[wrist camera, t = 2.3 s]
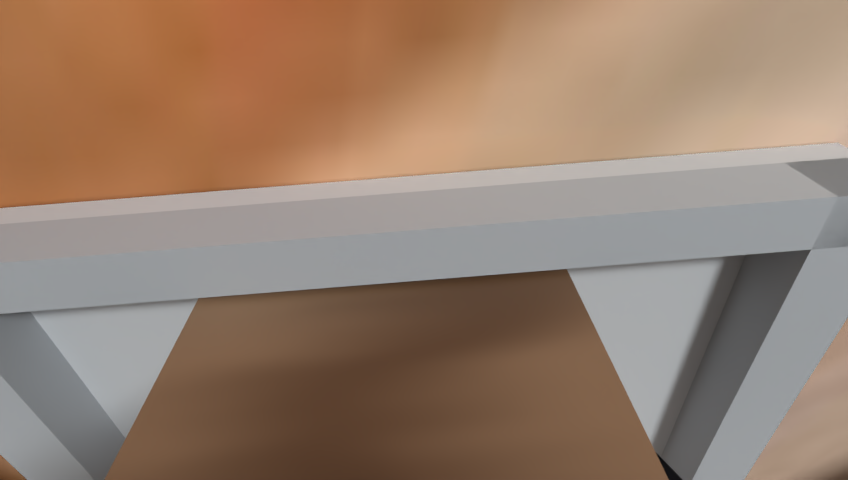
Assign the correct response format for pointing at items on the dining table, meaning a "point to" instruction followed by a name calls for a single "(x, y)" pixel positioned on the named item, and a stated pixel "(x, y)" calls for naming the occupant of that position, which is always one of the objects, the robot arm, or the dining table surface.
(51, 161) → the dining table surface
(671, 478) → the robot arm
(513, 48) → the dining table surface
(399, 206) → the bay
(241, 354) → the box
